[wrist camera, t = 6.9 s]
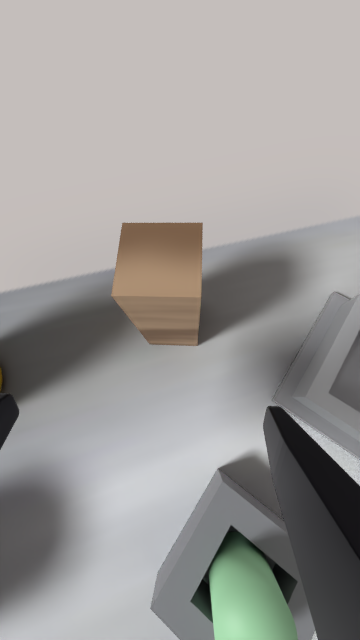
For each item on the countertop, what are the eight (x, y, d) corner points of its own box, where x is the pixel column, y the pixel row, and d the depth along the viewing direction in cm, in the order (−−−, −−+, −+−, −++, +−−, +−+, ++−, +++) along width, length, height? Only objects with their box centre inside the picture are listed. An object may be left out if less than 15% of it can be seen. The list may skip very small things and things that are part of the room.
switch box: (257, 670, 15) (272, 735, 12) (157, 572, 17) (150, 608, 14) (312, 544, 17) (337, 573, 14) (217, 468, 18) (222, 481, 16)
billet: (197, 345, 22) (201, 297, 11) (149, 344, 22) (111, 295, 12) (198, 301, 23) (202, 222, 13) (153, 300, 23) (122, 223, 13)
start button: (249, 625, 15) (272, 720, 10) (196, 576, 16) (198, 644, 11) (279, 560, 16) (312, 623, 11) (228, 517, 17) (240, 560, 12)
